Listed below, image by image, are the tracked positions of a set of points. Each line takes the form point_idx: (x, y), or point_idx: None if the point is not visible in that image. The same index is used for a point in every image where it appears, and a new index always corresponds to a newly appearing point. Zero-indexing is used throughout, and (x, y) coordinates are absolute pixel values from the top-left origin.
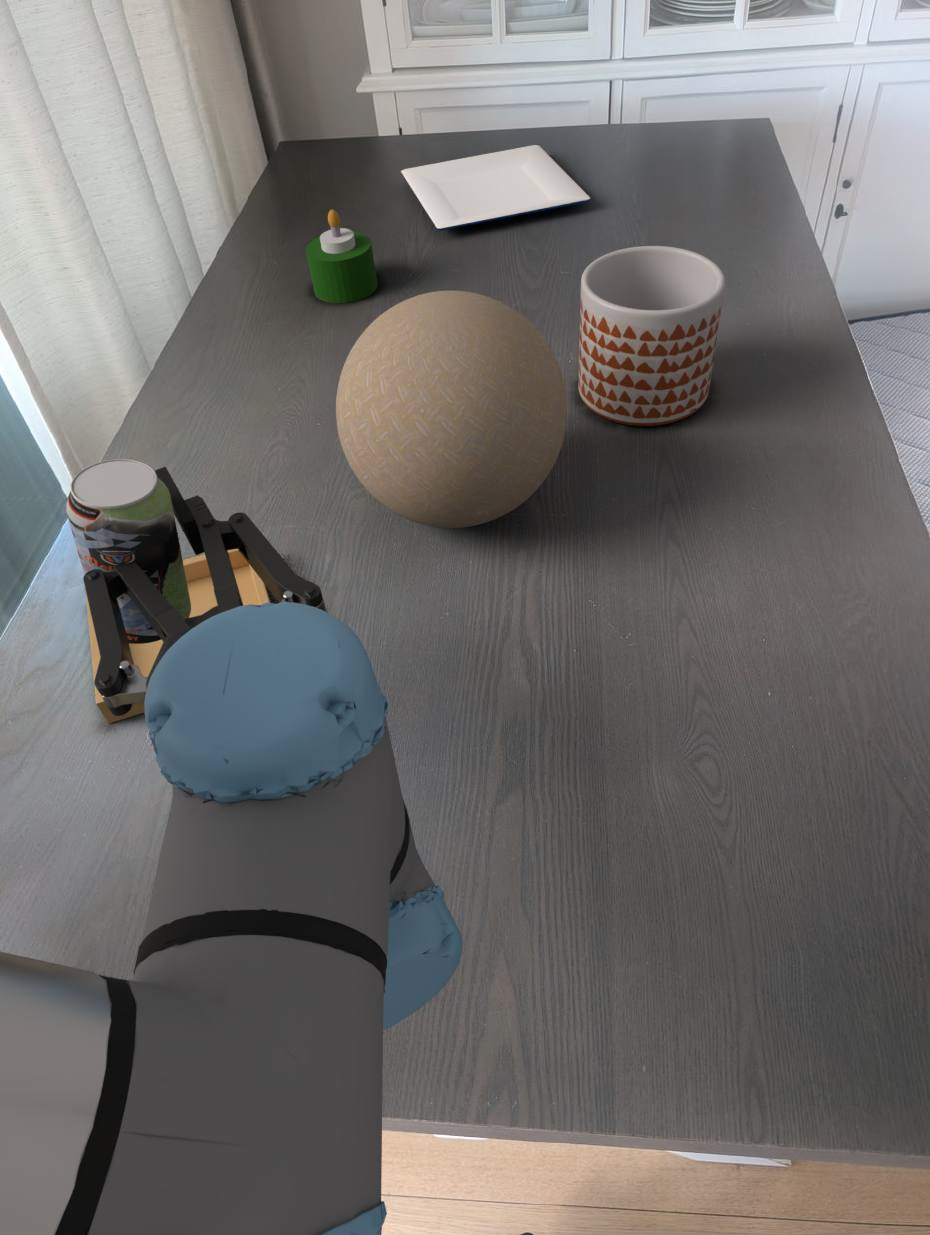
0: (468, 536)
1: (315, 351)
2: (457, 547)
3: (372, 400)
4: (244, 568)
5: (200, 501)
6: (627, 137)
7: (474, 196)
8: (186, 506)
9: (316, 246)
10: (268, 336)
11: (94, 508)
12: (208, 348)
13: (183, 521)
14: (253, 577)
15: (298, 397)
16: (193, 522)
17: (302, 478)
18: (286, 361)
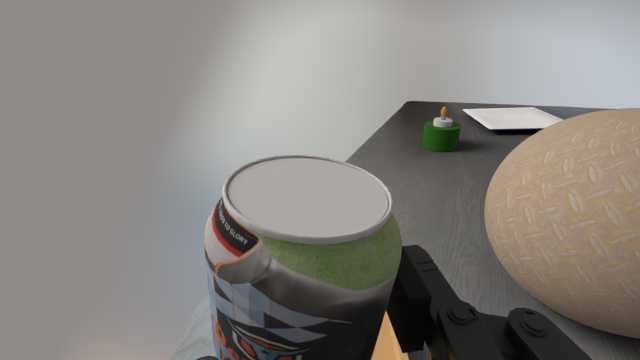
0: (599, 337)
1: (425, 169)
2: (591, 347)
3: (573, 186)
4: None
5: (424, 256)
6: (581, 111)
7: (503, 121)
8: (410, 262)
9: (430, 124)
10: (398, 159)
11: (247, 229)
12: (366, 159)
13: (408, 293)
14: None
15: (416, 189)
16: (426, 300)
17: (422, 238)
18: (408, 171)
